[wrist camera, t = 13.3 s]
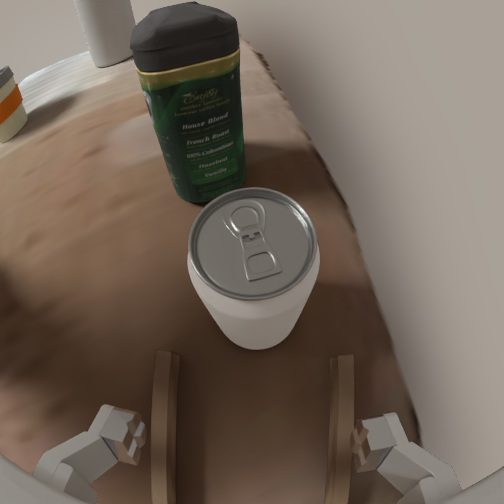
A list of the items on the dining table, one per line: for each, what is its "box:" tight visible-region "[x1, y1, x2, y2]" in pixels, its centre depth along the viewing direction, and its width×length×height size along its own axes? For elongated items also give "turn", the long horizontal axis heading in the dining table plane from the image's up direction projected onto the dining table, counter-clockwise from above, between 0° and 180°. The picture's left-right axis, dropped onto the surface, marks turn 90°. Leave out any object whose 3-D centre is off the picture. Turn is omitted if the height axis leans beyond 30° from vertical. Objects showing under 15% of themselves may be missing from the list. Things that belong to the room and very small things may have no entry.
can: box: [188, 187, 320, 350], centre depth 17 cm, size 6×6×12 cm
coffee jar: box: [130, 2, 246, 203], centre depth 22 cm, size 10×8×19 cm
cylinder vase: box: [74, 0, 136, 67], centre depth 39 cm, size 12×12×25 cm
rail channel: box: [151, 350, 354, 504], centre depth 16 cm, size 18×14×2 cm
